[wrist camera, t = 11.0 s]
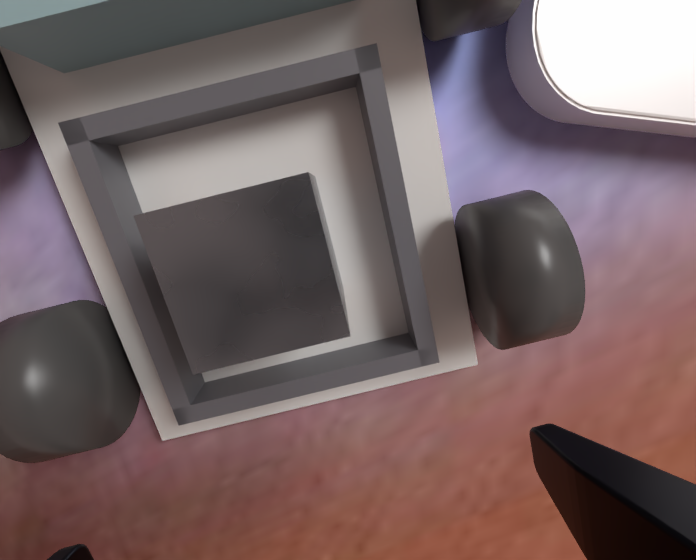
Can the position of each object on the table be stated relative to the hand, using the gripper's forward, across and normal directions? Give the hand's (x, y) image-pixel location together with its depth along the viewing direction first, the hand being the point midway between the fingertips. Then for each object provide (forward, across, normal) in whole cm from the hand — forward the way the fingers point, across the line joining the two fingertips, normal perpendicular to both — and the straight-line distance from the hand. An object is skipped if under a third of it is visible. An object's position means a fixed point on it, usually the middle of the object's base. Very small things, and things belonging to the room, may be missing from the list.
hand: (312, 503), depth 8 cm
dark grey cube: (+11, +1, -4) cm, 11 cm away
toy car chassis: (+12, +1, -7) cm, 14 cm away
